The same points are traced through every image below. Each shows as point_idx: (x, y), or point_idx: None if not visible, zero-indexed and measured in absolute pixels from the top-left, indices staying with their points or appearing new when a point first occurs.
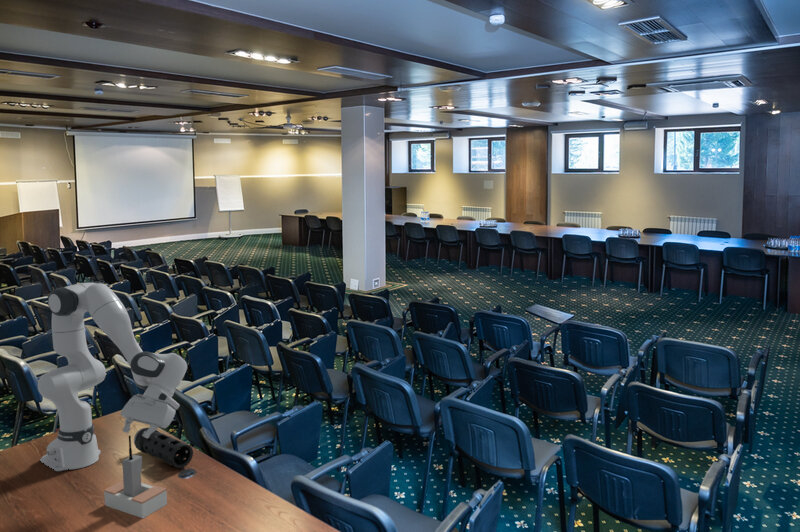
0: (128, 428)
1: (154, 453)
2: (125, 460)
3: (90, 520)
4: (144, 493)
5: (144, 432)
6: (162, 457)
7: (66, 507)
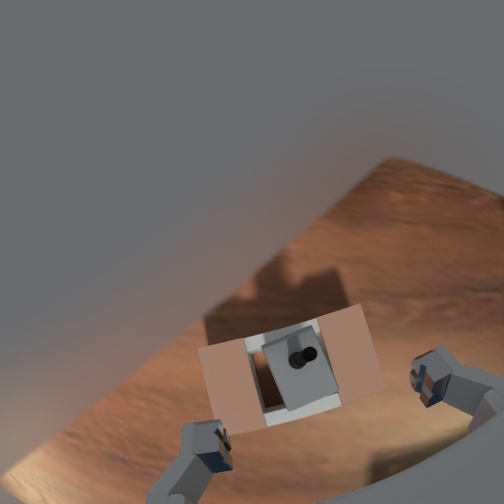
0: (429, 388)
1: None
2: (302, 336)
3: (301, 261)
4: (242, 379)
5: (208, 440)
6: None
7: (399, 245)
